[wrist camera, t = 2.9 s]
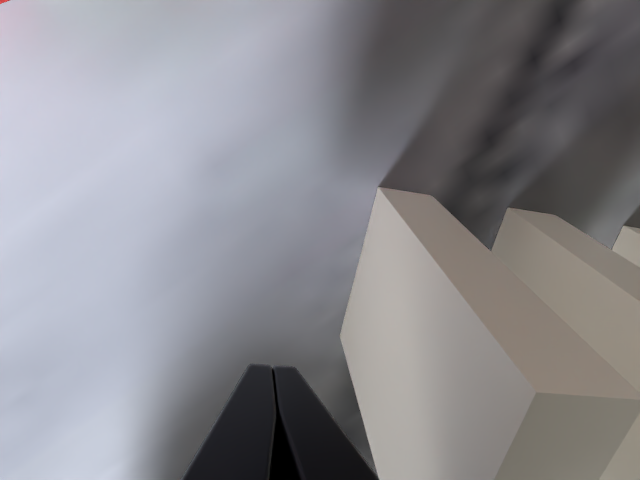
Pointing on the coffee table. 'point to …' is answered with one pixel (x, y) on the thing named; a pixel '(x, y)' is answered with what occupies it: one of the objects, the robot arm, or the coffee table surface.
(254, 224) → the coffee table surface
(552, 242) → the domino
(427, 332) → the domino
